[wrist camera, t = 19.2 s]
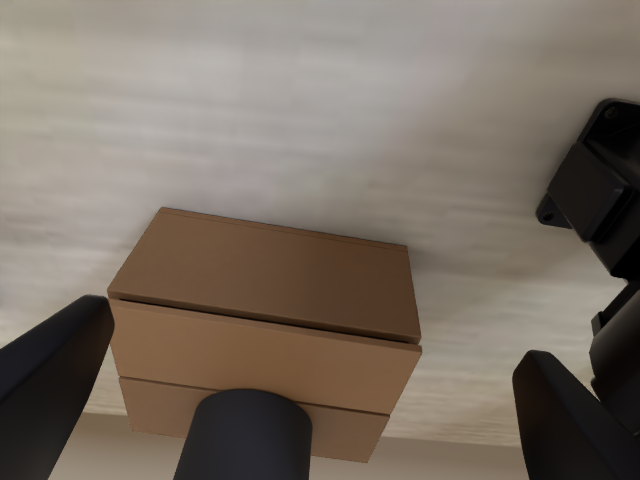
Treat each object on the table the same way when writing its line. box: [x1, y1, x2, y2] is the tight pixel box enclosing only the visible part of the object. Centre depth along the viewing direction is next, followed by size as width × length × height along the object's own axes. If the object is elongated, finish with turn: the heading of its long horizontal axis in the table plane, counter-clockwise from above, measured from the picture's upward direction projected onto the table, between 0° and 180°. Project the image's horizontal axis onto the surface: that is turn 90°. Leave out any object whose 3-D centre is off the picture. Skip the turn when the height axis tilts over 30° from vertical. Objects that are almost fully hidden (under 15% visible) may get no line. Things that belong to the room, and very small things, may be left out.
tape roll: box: [173, 389, 313, 480], centre depth 20 cm, size 6×6×5 cm
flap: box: [108, 299, 422, 414], centre depth 19 cm, size 14×5×1 cm, turn 81°
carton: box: [107, 207, 421, 463], centre depth 24 cm, size 14×11×7 cm
